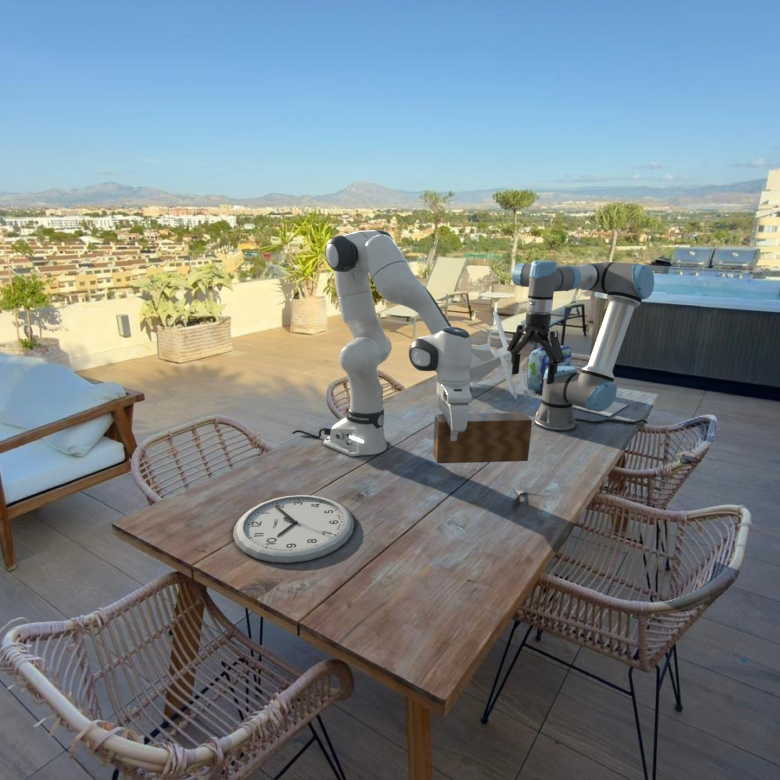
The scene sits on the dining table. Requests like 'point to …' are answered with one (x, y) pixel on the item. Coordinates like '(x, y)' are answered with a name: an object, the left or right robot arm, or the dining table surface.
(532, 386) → the lunch box
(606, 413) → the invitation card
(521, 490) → the fork
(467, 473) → the dining table surface
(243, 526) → the wall clock
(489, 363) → the white plastic object
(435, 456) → the box
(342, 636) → the dining table surface
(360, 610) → the dining table surface
